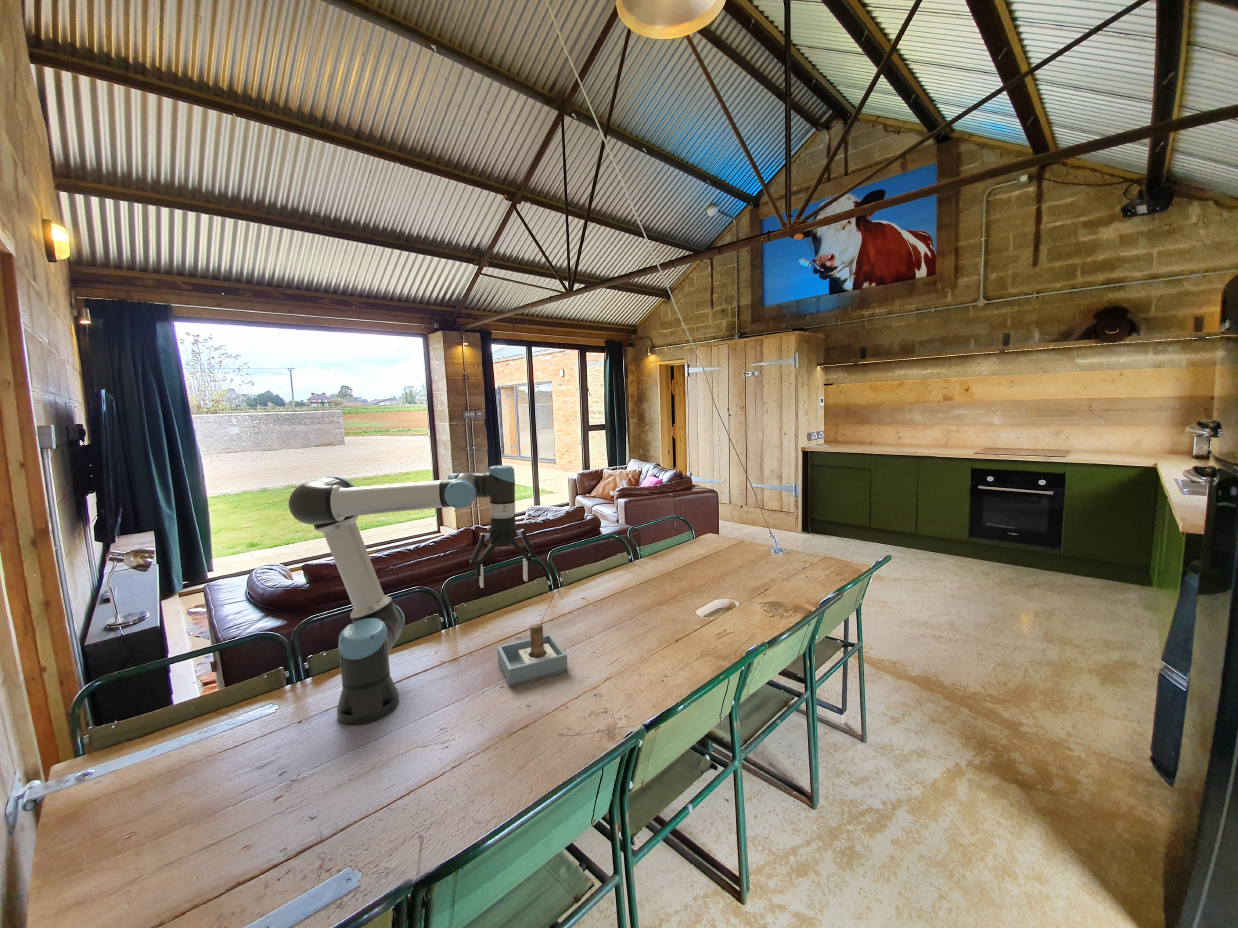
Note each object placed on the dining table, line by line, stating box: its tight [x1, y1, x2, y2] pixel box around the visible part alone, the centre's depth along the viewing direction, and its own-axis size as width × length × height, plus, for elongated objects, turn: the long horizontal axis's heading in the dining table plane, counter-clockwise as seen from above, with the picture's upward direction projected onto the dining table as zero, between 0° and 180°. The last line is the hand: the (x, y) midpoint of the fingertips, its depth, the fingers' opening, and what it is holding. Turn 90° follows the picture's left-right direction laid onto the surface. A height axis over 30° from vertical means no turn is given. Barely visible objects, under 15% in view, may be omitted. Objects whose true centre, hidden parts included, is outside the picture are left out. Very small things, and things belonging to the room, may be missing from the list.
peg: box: [529, 623, 544, 658], centre depth 152 cm, size 4×4×12 cm
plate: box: [518, 643, 557, 664], centre depth 153 cm, size 10×10×3 cm
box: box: [496, 633, 568, 688], centre depth 152 cm, size 18×16×6 cm
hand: (503, 583), depth 150 cm, fingers open, 13 cm apart
